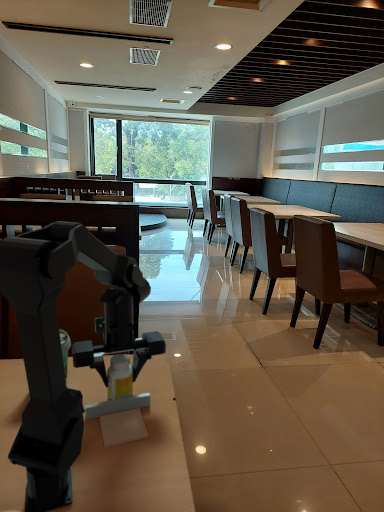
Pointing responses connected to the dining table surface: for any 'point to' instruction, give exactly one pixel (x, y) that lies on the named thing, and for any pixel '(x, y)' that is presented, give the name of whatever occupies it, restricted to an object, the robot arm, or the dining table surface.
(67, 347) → the food container
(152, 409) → the dining table surface
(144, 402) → the low wall
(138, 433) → the mat
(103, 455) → the dining table surface
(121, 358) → the supplement bottle
